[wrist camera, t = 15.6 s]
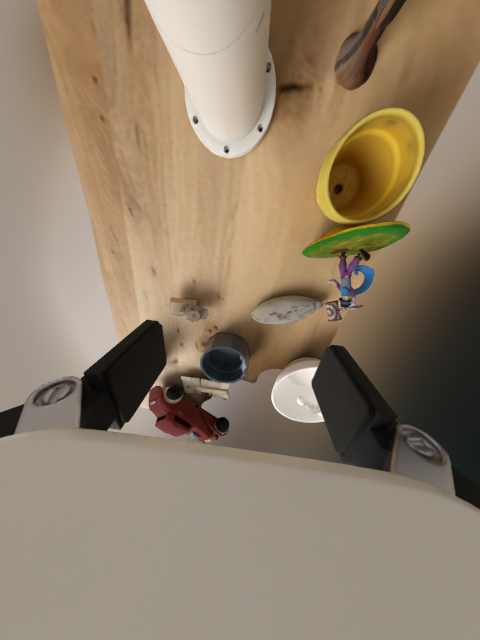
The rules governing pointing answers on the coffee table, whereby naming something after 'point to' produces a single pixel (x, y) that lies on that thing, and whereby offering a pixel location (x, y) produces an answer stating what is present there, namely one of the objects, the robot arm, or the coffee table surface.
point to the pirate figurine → (350, 243)
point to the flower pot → (371, 166)
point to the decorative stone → (285, 309)
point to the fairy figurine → (303, 401)
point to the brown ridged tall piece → (364, 46)
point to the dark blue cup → (225, 358)
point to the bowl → (296, 390)
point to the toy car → (184, 415)
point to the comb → (205, 387)
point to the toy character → (187, 309)
